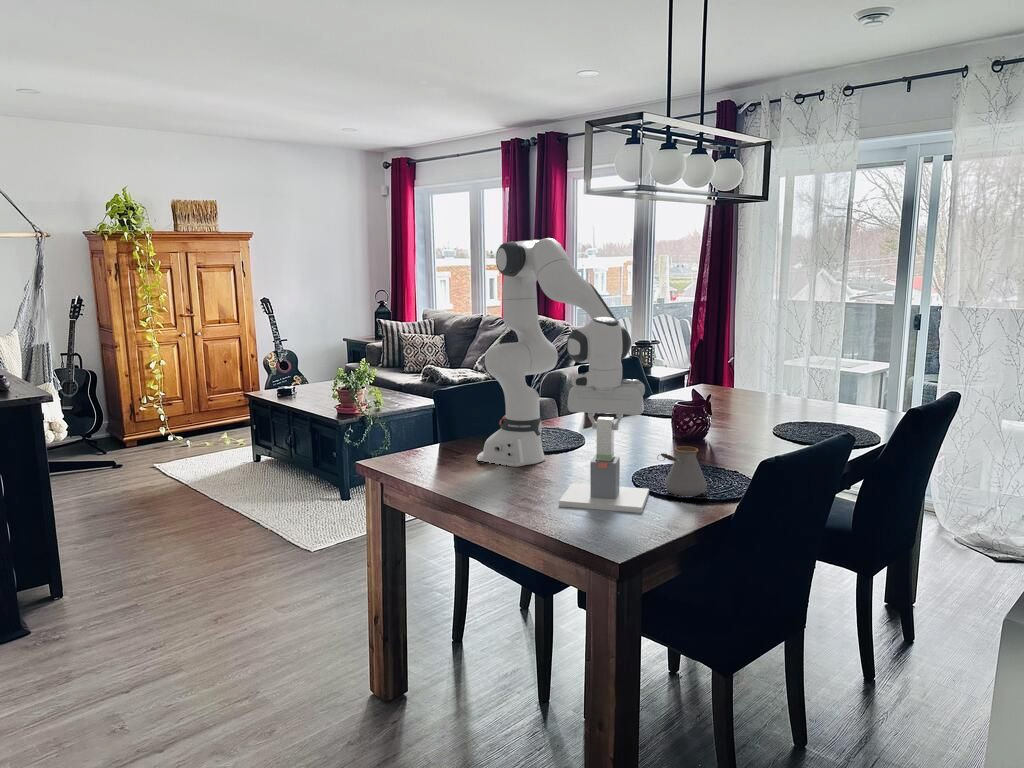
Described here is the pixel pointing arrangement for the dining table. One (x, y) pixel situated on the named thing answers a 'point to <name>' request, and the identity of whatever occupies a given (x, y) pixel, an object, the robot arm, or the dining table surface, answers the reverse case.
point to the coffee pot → (685, 473)
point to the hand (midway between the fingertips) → (605, 429)
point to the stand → (605, 490)
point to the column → (605, 439)
